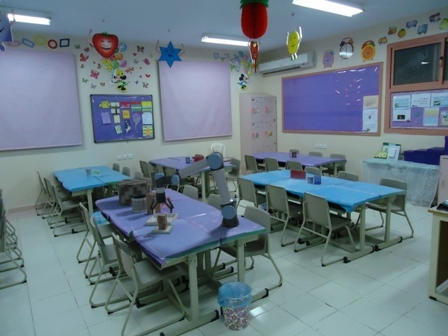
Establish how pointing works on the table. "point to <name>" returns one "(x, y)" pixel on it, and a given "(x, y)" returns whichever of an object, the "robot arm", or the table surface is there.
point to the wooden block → (149, 201)
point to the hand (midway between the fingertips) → (162, 217)
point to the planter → (139, 203)
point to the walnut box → (162, 222)
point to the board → (157, 231)
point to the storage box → (133, 189)
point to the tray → (154, 222)
